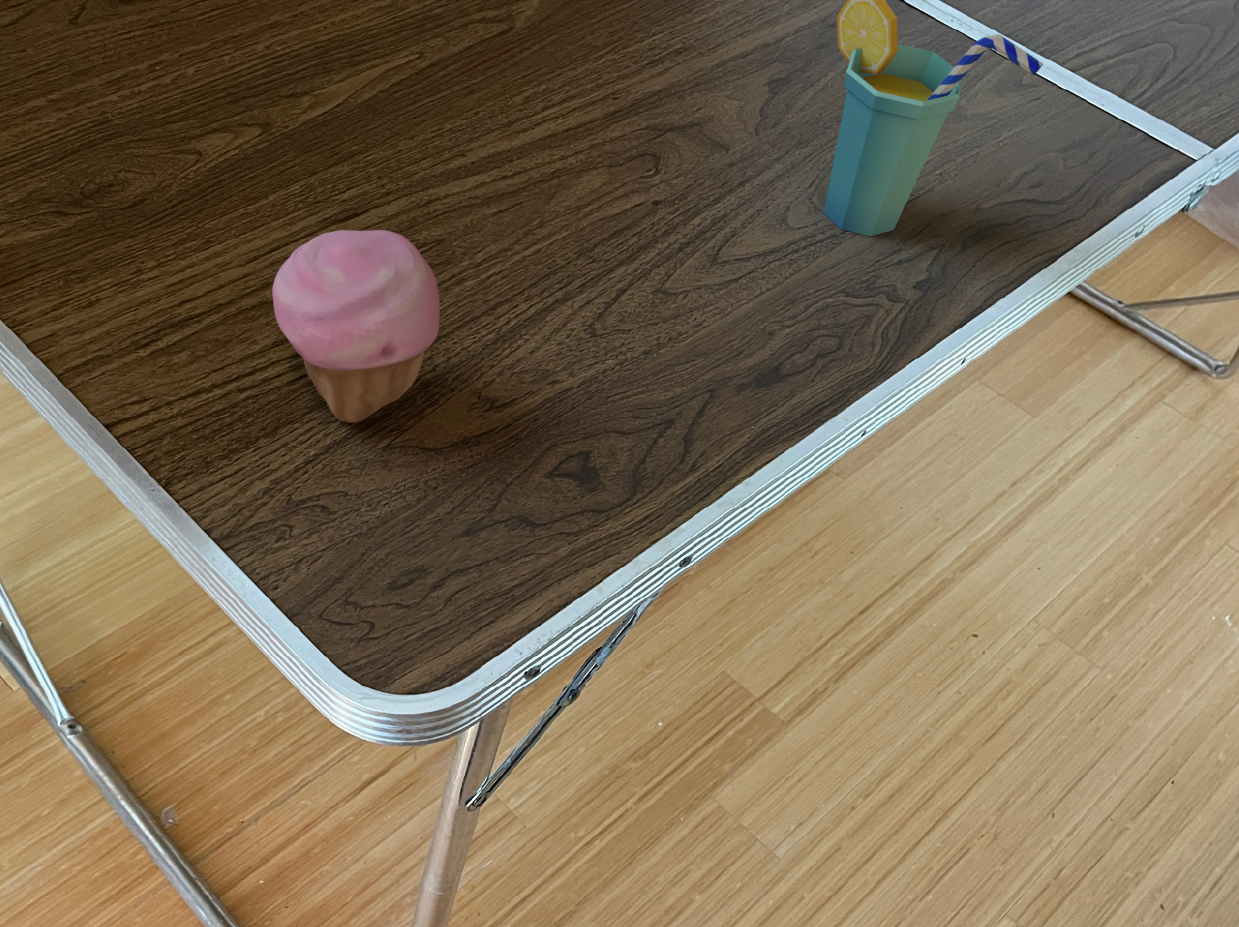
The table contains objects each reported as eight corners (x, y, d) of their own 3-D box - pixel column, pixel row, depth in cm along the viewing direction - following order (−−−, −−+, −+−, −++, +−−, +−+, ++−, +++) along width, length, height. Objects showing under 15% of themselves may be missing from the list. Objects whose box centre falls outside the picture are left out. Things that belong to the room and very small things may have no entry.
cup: (986, 239, 86) (1073, 32, 75) (934, 288, 82) (1017, 77, 71) (815, 156, 91) (871, -49, 80) (757, 199, 87) (809, -12, 76)
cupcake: (257, 369, 71) (240, 223, 64) (392, 324, 75) (390, 181, 68) (327, 468, 67) (318, 323, 59) (467, 415, 70) (474, 272, 63)
